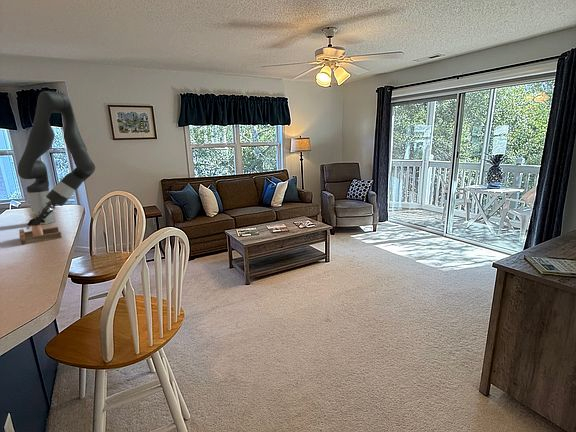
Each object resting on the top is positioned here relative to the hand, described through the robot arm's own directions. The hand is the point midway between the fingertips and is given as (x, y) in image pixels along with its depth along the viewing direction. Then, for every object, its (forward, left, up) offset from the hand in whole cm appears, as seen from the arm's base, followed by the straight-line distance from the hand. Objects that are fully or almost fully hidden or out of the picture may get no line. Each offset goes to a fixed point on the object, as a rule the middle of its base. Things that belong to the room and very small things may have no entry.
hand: (33, 223), depth 138 cm
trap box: (0, +2, -7) cm, 7 cm away
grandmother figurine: (0, +1, -7) cm, 7 cm away
